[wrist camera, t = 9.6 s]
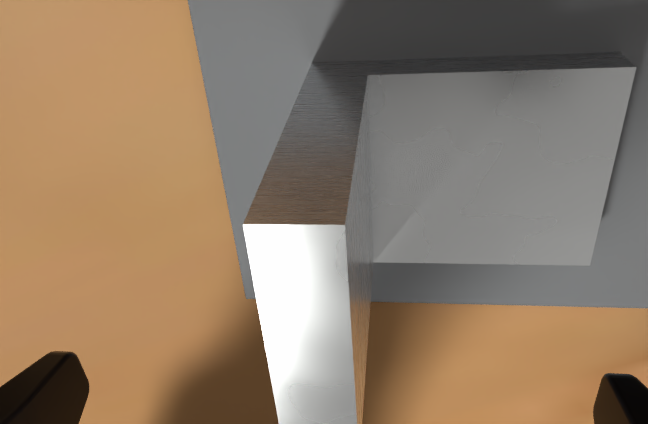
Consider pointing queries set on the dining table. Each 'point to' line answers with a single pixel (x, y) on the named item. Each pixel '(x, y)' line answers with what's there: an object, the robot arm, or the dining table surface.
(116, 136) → the dining table surface
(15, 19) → the dining table surface
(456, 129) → the bracket
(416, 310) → the dining table surface
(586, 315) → the dining table surface
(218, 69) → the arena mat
